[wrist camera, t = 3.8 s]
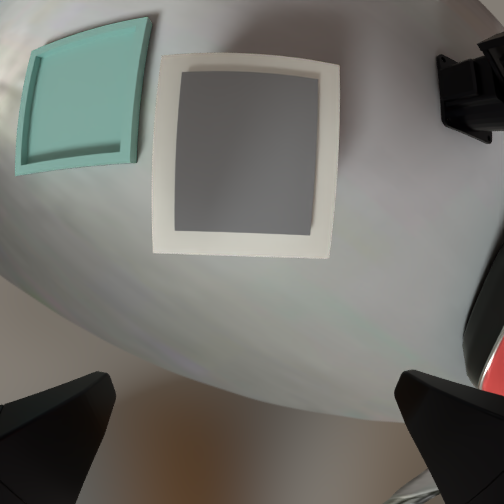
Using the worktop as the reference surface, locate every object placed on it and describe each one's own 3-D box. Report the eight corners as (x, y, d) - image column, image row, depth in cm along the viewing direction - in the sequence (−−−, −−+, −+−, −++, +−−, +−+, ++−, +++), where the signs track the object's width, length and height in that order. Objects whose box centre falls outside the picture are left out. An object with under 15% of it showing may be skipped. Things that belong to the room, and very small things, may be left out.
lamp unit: (302, 102, 16) (342, 62, 8) (295, 230, 18) (330, 269, 11) (190, 97, 15) (159, 51, 8) (185, 226, 17) (150, 263, 10)
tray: (152, 24, 13) (147, 16, 12) (136, 162, 16) (129, 162, 15) (39, 54, 13) (31, 51, 12) (24, 174, 16) (15, 175, 14)
